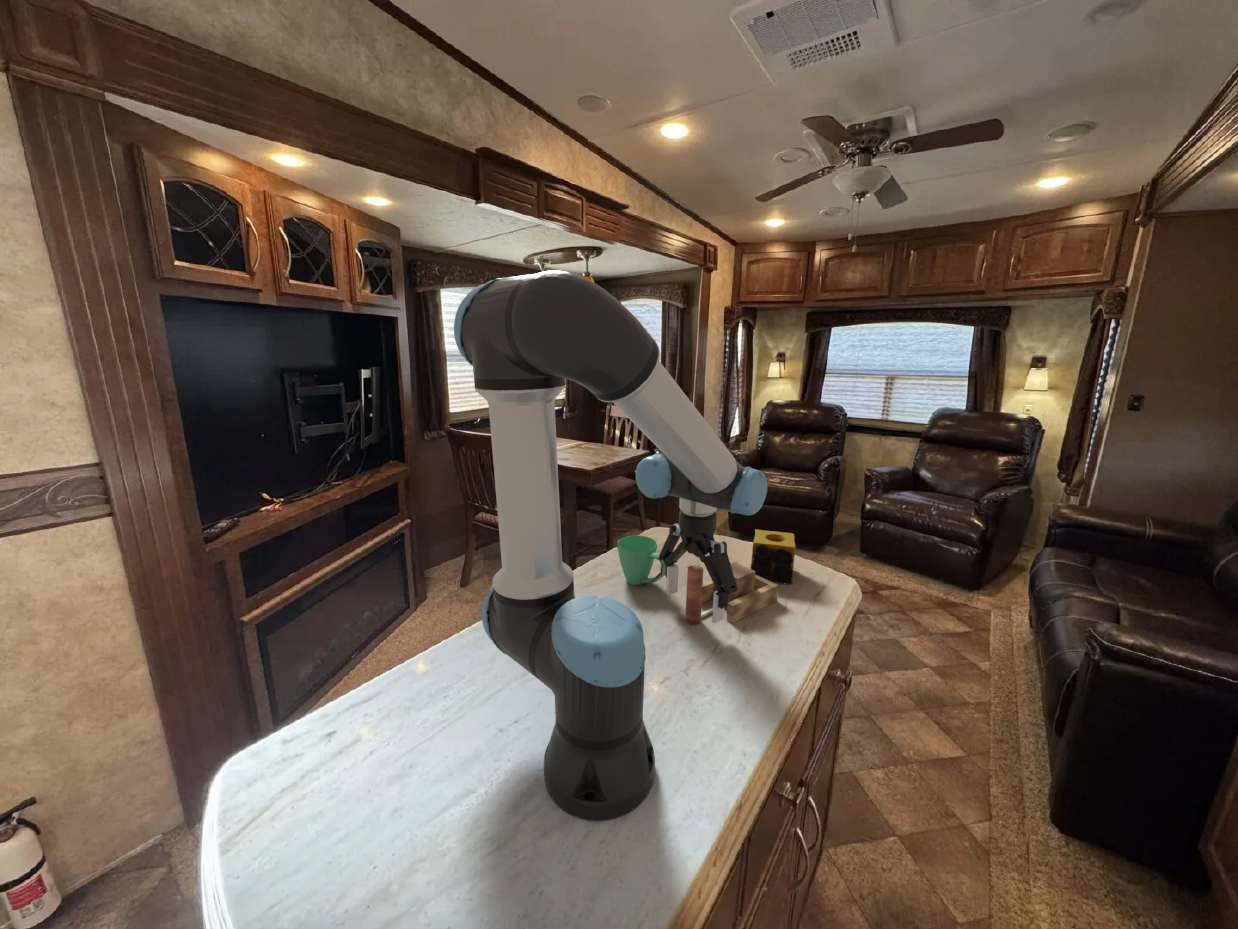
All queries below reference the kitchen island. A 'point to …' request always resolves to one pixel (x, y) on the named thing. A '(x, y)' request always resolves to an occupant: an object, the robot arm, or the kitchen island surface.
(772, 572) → the toy block
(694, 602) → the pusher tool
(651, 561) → the mug
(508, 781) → the kitchen island surface
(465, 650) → the kitchen island surface
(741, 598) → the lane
